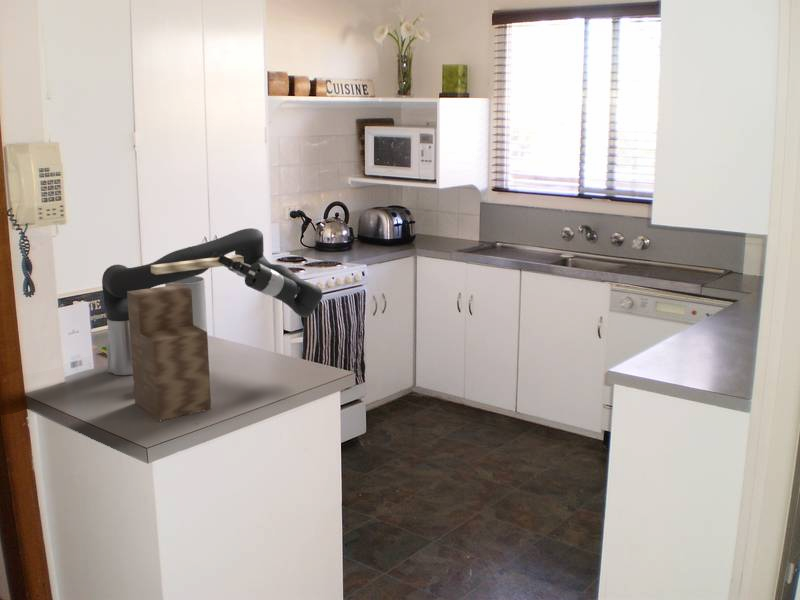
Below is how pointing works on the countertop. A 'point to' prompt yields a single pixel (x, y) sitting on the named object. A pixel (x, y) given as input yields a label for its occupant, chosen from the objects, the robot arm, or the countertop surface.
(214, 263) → the maple slat
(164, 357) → the walnut step stand
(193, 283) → the cylinder vase
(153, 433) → the countertop surface
